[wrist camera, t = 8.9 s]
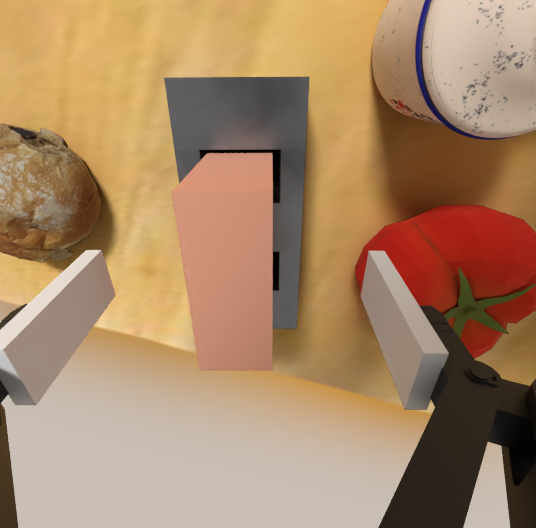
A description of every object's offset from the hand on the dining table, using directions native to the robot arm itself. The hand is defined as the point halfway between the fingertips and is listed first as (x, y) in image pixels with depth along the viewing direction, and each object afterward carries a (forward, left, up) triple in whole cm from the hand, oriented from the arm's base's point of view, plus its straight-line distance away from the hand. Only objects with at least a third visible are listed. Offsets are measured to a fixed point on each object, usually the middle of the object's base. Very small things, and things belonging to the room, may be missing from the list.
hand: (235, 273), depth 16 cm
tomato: (+6, +15, -12) cm, 20 cm away
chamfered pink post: (0, 0, -10) cm, 10 cm away
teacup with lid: (-11, +14, -12) cm, 21 cm away
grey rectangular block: (0, 0, -12) cm, 12 cm away
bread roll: (-1, -17, -12) cm, 21 cm away
